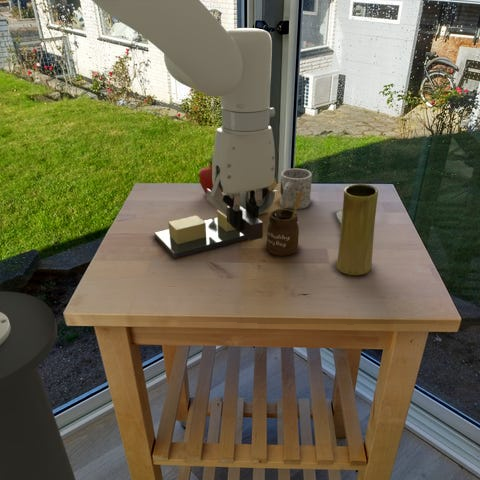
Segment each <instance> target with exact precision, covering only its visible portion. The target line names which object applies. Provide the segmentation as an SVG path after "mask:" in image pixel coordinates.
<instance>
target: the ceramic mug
mask: <svg viewBox="0 0 480 480" xmlns="http://www.w3.org/2000/svg"><path fill="white" fill-rule="evenodd" d="M274 190H275V188H274V189H272V190H271V191H269V192H268V193H267V195H266V196H265V197H264V199H263V200H262V204H261V205H260V206H259V216H260V215H263V214H265V213H266V212H267V211H269V210H270V208H272V207H273V205H274V202H275V197H274V195H275V196H276V192H275V191H274ZM271 192H272V193H271ZM270 194H271V198H270ZM272 194H273V196H272ZM272 199H273V201H272ZM246 201H249V195H248V191H247V192H242V193H241V194H240V206H241V207H243V208H244V209H245V210H246ZM270 204H272V205H271V206H270Z"/></svg>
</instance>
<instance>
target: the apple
mask: <svg viewBox="0 0 480 480" xmlns="http://www.w3.org/2000/svg"><path fill="white" fill-rule="evenodd" d="M204 161H206V162H209V165H208V166H205V167H202V168H201V169H200V170H199V173H198V180H199V183H200V186H201V188H202V190H203V191H204V193H205V195H207V189H209V190H211V191H212V188H213V182H212V163H213V154H212V155H211V156H210V157H206V158H205V159H204ZM222 193H224V192H223V190H222Z"/></svg>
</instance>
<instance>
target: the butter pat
mask: <svg viewBox="0 0 480 480" xmlns="http://www.w3.org/2000/svg"><path fill="white" fill-rule="evenodd" d="M216 218H217V222H218V225H219V226H220V227H222V228H223V229H224V230H225V231H226V232H228V231H232V230H236V229H235V228H233V227H232V226H231V224H229V223H228V222H227V216H225V215H224V214H223V213H222V212H220V211H219V210H218V209H217V210H216Z"/></svg>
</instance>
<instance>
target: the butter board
mask: <svg viewBox="0 0 480 480" xmlns="http://www.w3.org/2000/svg"><path fill="white" fill-rule="evenodd" d="M203 221H204V222H205V223H206V237H205V238H201V239H197V240H193V241H189V242H185V243H181V244H177V243H176V242H175V241H174V240H173V239H172V238H171V237H170V234H169V228H168V229H164V230H160V231H156V232H154V238H155V239H156V240H157V241H158V242H159V243H160V245H162V246H163V248H165V249H166V251H167V252H168V253H169V254H170V255H171V256H172V257H173V258H174V259H178V258H182V257H185V256H188V255H189V256H190V255H194V254H197V253H200V252H204V251H208V250H211V249H215V248H219V247H223V246H226V245H230V244H234V243H238V242H241V241H242V242H243V241H245V240H249V239H248V238H247V237H246V236H244V235H243V234H242V233H241V232H238V231H237V230H232V231H228V232H226V231H225V230H224V229H223V228H222V227H220V226H219V225H218V222H217V217H213V218H210V219H205V220H203Z"/></svg>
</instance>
